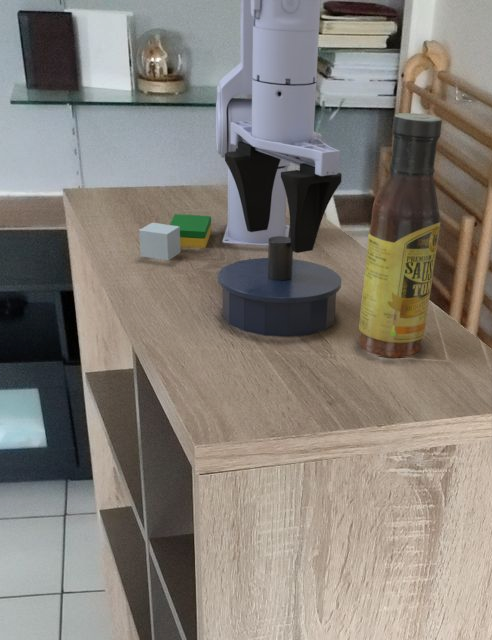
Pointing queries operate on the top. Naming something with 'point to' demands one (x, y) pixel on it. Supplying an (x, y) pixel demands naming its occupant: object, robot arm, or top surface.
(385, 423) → the top surface
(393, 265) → the sauce bottle
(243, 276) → the lid
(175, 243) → the ice cube
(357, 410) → the top surface
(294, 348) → the top surface
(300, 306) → the pot
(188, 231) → the scrubber
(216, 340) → the top surface
